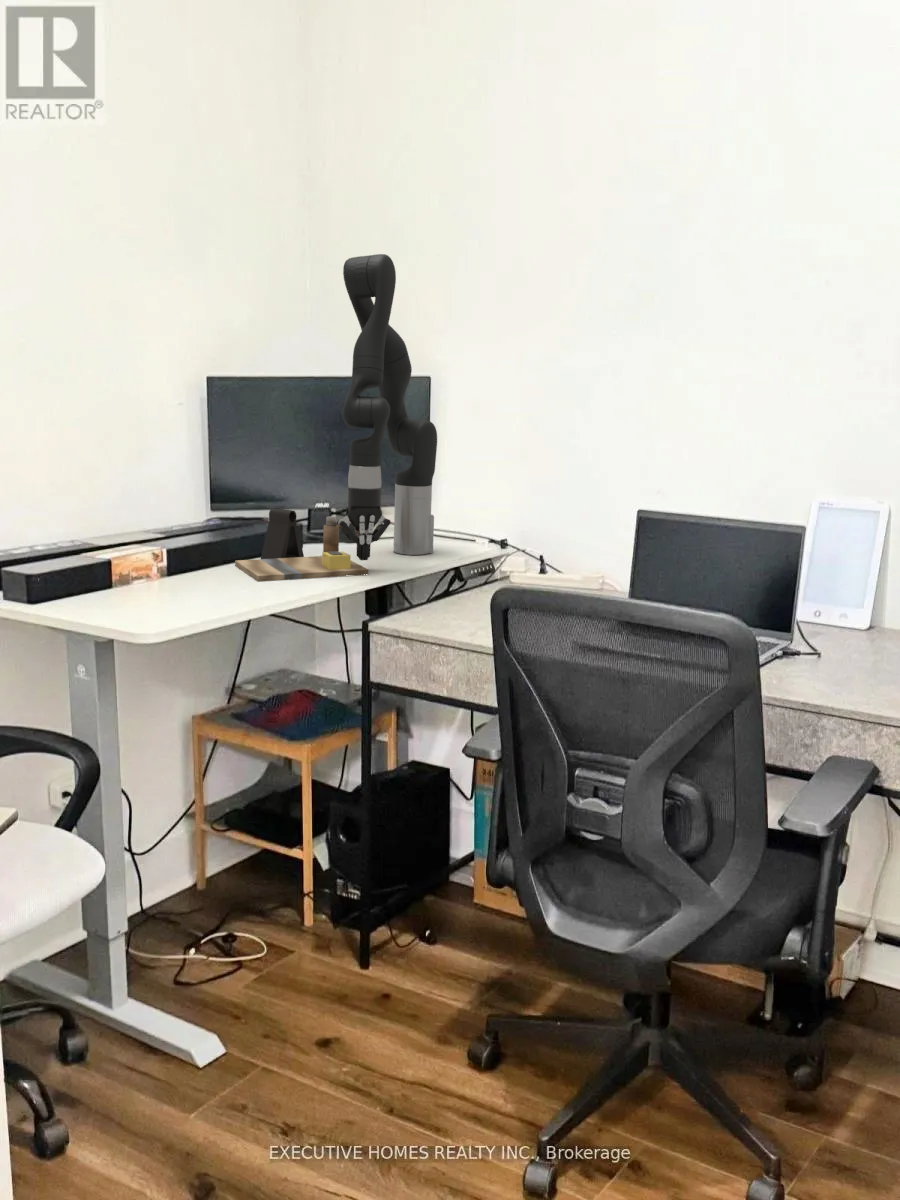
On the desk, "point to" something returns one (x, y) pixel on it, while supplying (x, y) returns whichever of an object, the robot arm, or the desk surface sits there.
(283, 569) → the panel
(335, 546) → the brown wooden bottle
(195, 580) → the desk surface
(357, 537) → the robot arm
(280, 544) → the phone stand
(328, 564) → the block
